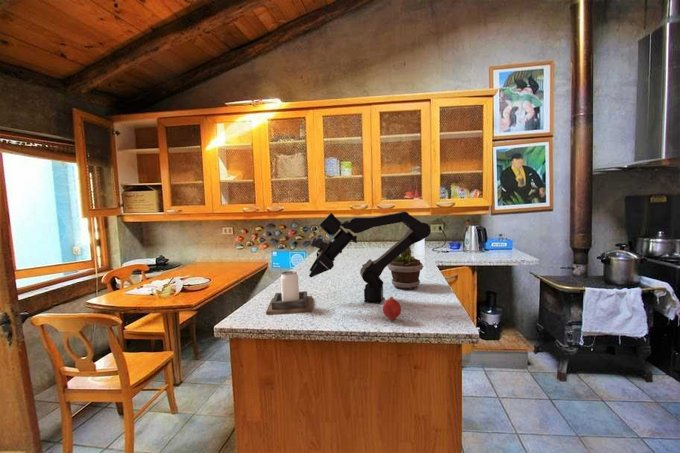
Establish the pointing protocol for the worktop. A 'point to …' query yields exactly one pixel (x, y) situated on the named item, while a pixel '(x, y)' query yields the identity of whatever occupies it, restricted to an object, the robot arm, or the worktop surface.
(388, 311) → the onion
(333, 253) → the robot arm
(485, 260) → the worktop surface
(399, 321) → the worktop surface
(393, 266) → the flowerpot
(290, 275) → the can
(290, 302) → the socket
